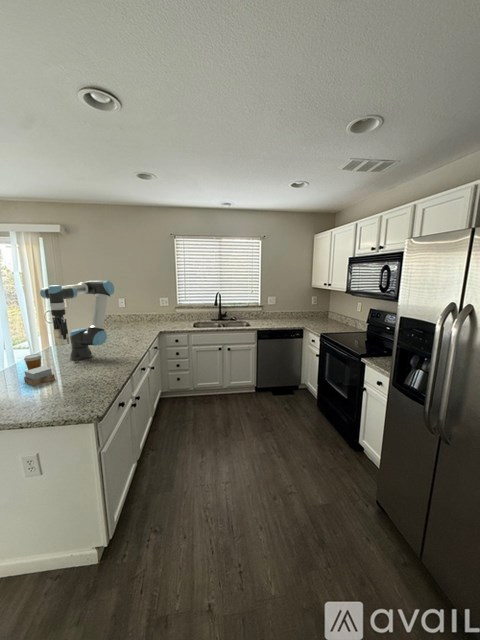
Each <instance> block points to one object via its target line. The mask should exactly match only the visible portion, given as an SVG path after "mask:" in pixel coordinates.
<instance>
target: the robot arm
mask: <svg viewBox="0 0 480 640" xmlns="http://www.w3.org/2000/svg"><path fill="white" fill-rule="evenodd" d="M114 293H115V286H114V284H113V282H111V281H110V280H106V279H105V280H102V279H101V280H88V281H83V282H79V283H77V284H68V285H59V284H58V285H57V284H56V285H48V287H42V288H41V289H40V291H39V295H40V297H41V298H43V299H48V300H49V307H50V309H51V310H50V312H51V316H54V317H52V318H51V319H52V322H53V323H52V324H53V331H54V330H55V329H61V333H62V334H61V337H62V344H63V345H62V346H65V345H68V344H67V336H66V334H68V335H69V341H70V346H71V352H70V355H69V356H70V357H69V358H70V360H71V361H83V360H86V359H90V358H92V357H93V353H92V351H91V349H90V347H89V346H95V347H96V346H103V344H105V343H106V341H107V339H108V334H107V332H106V331H105V328H104V323H105V317H106V312H107V307H108V305H107V304H108V300H109V299H110V298H111V296H112V295H114ZM78 295H94V297H95V301H94V307H93V311H92V317H91V318H92V319H91V324H90V326H89V327H88V328H86V327H82V328H77V329H73V330H71V331H69V329H68V324H67V318H64V316H65V315H66V309H65V307H66V306H65V300H67V299H75V298H77V296H78ZM67 329H68V330H67ZM64 344H65V345H64Z"/></svg>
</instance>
